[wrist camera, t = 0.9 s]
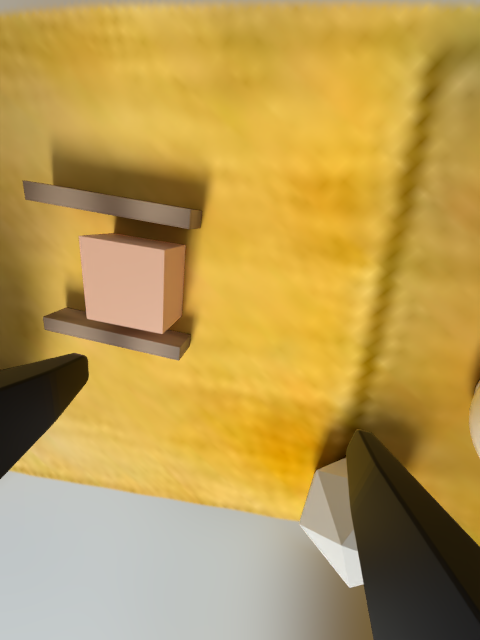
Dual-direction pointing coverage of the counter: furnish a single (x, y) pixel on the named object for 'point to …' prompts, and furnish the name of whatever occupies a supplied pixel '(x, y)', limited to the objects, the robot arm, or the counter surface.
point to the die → (333, 521)
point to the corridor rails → (76, 320)
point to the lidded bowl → (475, 419)
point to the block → (132, 280)
